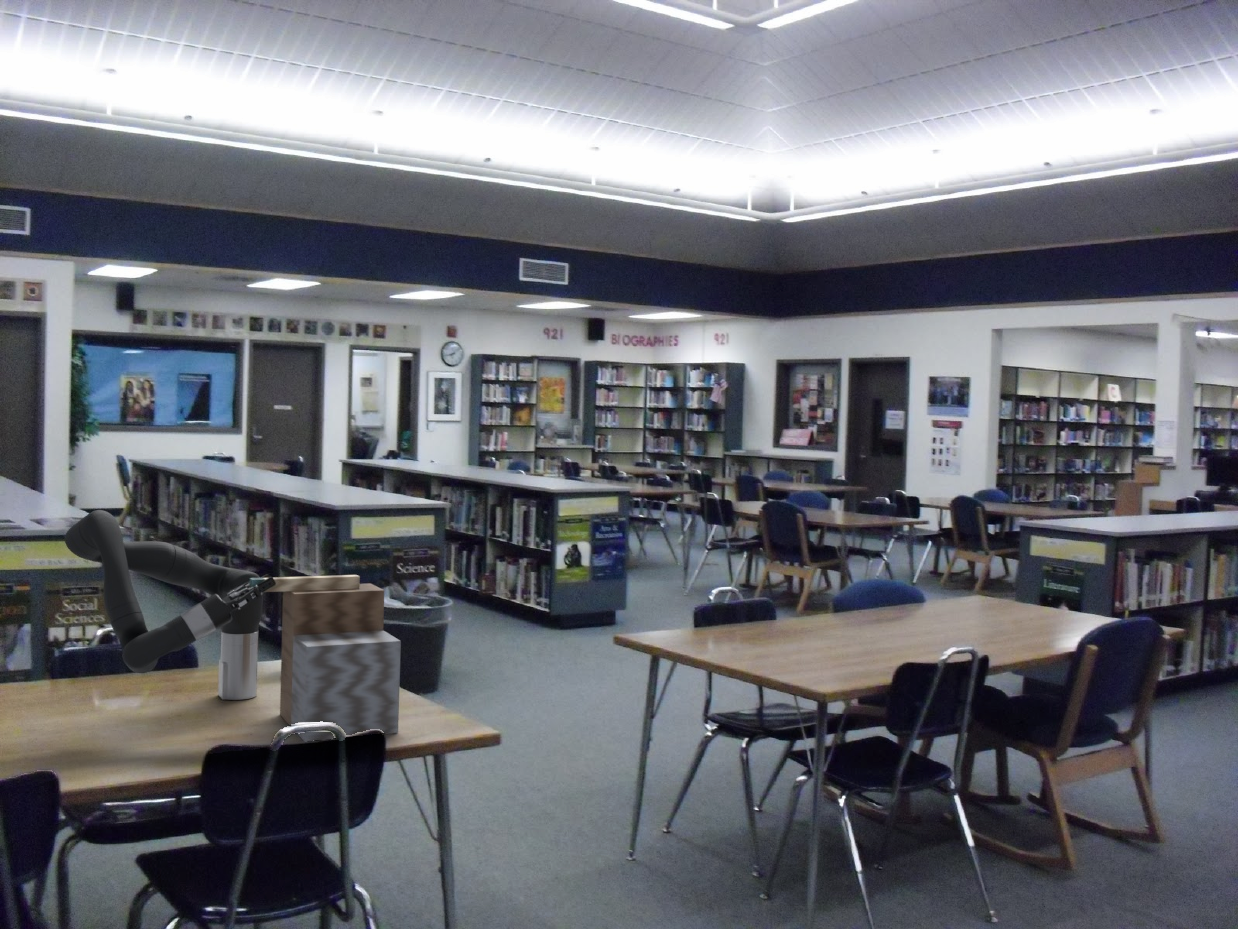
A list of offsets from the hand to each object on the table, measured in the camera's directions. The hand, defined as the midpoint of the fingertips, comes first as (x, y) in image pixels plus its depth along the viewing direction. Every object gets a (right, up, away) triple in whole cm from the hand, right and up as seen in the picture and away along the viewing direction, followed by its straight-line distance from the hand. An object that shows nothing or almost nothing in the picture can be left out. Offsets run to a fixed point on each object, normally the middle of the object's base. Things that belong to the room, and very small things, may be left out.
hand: (271, 579), depth 277 cm
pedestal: (+15, -35, +2) cm, 39 cm away
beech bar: (+7, -3, +4) cm, 9 cm away
